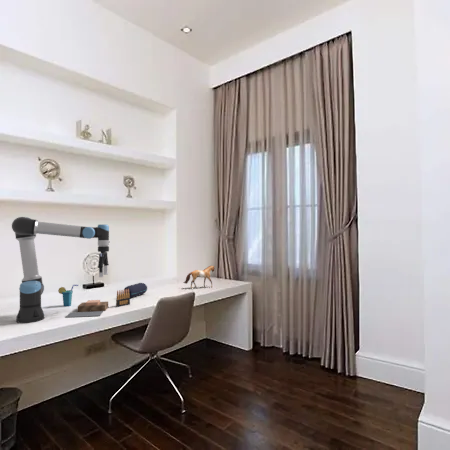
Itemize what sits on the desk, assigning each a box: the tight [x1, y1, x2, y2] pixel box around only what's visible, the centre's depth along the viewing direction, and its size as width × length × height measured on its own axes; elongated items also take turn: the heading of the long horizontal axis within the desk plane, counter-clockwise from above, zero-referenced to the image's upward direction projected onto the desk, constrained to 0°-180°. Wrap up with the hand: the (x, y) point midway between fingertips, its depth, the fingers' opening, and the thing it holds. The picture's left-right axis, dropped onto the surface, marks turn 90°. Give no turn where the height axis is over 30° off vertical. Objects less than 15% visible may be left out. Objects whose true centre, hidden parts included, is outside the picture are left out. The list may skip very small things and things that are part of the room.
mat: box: [64, 311, 104, 319], centre depth 224 cm, size 21×12×1 cm, turn 99°
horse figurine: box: [183, 265, 215, 289], centre depth 323 cm, size 31×8×21 cm, turn 109°
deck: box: [77, 301, 109, 312], centre depth 238 cm, size 18×12×4 cm, turn 99°
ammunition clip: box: [115, 289, 131, 308], centre depth 250 cm, size 11×2×12 cm, turn 140°
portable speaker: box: [123, 282, 148, 299], centre depth 285 cm, size 25×10×10 cm, turn 161°
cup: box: [58, 284, 79, 307], centre depth 251 cm, size 14×8×15 cm, turn 134°
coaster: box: [86, 299, 101, 306], centre depth 237 cm, size 8×8×2 cm
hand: (103, 275), depth 242 cm, fingers open, 13 cm apart
